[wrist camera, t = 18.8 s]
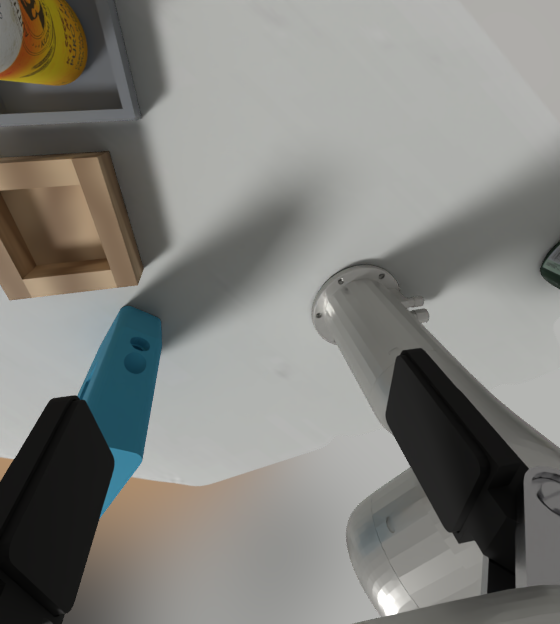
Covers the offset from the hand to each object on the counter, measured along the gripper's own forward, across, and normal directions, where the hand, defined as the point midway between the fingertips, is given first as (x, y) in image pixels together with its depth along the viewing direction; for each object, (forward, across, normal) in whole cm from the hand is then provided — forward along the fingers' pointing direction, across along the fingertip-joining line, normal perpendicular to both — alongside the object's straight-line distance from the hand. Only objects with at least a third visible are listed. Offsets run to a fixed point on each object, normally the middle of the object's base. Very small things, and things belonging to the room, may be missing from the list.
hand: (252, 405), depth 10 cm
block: (+29, +14, +16) cm, 36 cm away
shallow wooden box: (+28, +16, +1) cm, 33 cm away
